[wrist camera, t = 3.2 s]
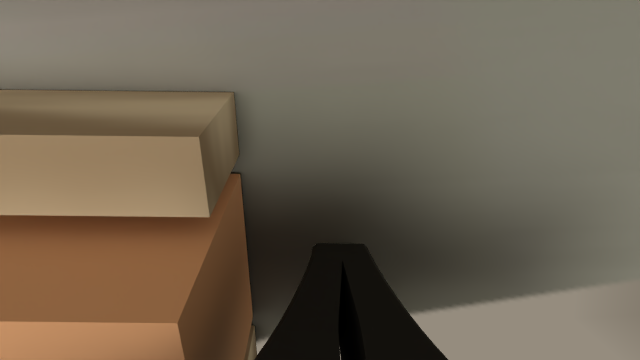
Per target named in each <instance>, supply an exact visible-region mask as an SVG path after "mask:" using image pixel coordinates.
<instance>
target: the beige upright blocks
mask: <svg viewBox="0 0 640 360" xmlns="http://www.w3.org/2000/svg"><path fill="white" fill-rule="evenodd" d="M238 156H239V145H238V133H237V122H236V111H235V99H234V92H160V91H71V90H0V215H43V216H136V217H210V216H211V213H212V211H213V209H214V207H215V205H216V203H217V201H218V199H219V197H220V194H221V192H222V190H223V188H224V186H225V184H226V182H227V180H228V178H229V175H230V173H231V171H232V169H233V167H234V165H235V163H236V161H237V158H238ZM256 356H257V351H256V338H255V327H254V326H251V328H250V333H249V338H248V343H247V348H246V353H245V358H244V360H254V359H255V358H256Z"/></svg>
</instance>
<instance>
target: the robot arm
mask: <svg viewBox="0 0 640 360" xmlns="http://www.w3.org/2000/svg"><path fill="white" fill-rule="evenodd" d="M339 346H340V349H339ZM340 354H341V360H448V359H447V358H446V357H445V356H444V355H443V353H442V352H441V351H440V350H439V349H438V348H437V347H436V346H435V345H434V344H433V342H432V341H431V340H430V339H429V338H428V337H427V335H426V334H425V333H424V332H423V331H422V330H421V328H420V327H419V326H418V324H417V323H416V322H415V321H414V319H413V318H412V317H411V316H410V314H409V313H408V312H407V310H406V309H405V308H404V306H403V305H402V304H401V302H400V301H399V299H398V298H397V296H396V295H395V293H394V292H393V291H392V289H391V288H390V286H389V285H388V283H387V282H386V280H385V279H384V277H383V275H382V274H381V272H380V270H379V269H378V267H377V265H376V264H375V262H374V260H373V258H372V256H371V254H370V252H369V250H368V248H367V247H366V246H365V245H364V244H330V243H317V244H316V245H314V246H313V248H312V254H311V257H310V261H309V264H308V266H307V269H306V271H305V274H304V276H303V278H302V281H301V283H300V285H299V287H298V289H297V291H296V293H295V295H294V297H293V299H292V301H291V303H290V305H289V306H288V308H287V310H286V311H285V313H284V315H283V317H282V318H281V320H280V322H279V324H278V325H277V327H276V328H275V330H274V332H273V333H272V335H271V336H270V338H269V339H268V341H267V342H266V344H265V345H264V346H263V348H262V349H261V351H260V352H259V354H258V355H257V356H256V358H255V359H254V360H340Z"/></svg>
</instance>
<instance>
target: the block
mask: <svg viewBox="0 0 640 360" xmlns="http://www.w3.org/2000/svg"><path fill="white" fill-rule="evenodd" d="M252 319H253V312H252V301H251V289H250V278H249V267H248V256H247V245H246V233H245V222H244V211H243V200H242V188H241V177H240V174H230V175H229V178H228V180H227V182H226V184H225V186H224V188H223V190H222V192H221V194H220V197H219V199H218V201H217V203H216V205H215V207H214V209H213V211H212V213H211V216H210V217H136V216H43V215H0V360H244V358H245V353H246V348H247V343H248V338H249V333H250V328H251V324H252Z"/></svg>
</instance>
